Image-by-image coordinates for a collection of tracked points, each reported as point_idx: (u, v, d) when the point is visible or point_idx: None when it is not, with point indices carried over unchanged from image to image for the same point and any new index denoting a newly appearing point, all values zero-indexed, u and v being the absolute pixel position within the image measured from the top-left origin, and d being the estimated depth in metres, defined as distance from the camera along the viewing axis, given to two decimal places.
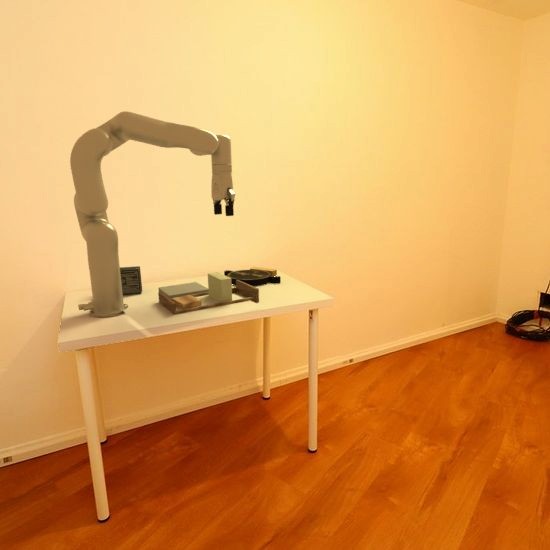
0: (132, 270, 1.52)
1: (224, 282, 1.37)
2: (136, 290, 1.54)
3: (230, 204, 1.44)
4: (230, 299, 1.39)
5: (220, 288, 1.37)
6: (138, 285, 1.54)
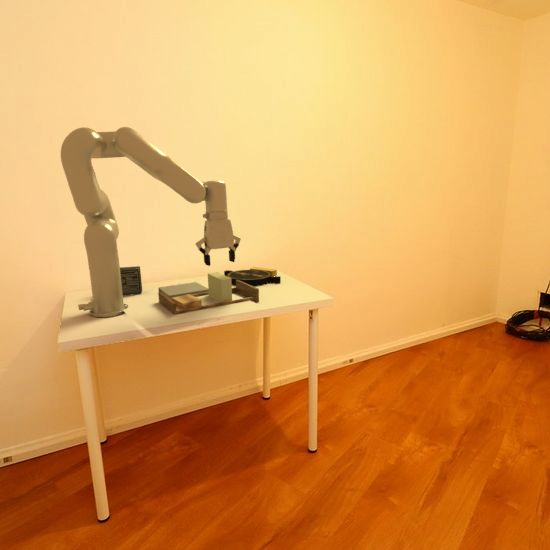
0: (132, 270, 1.52)
1: (224, 282, 1.37)
2: (136, 290, 1.54)
3: None
4: (230, 299, 1.39)
5: (220, 288, 1.37)
6: (138, 285, 1.54)
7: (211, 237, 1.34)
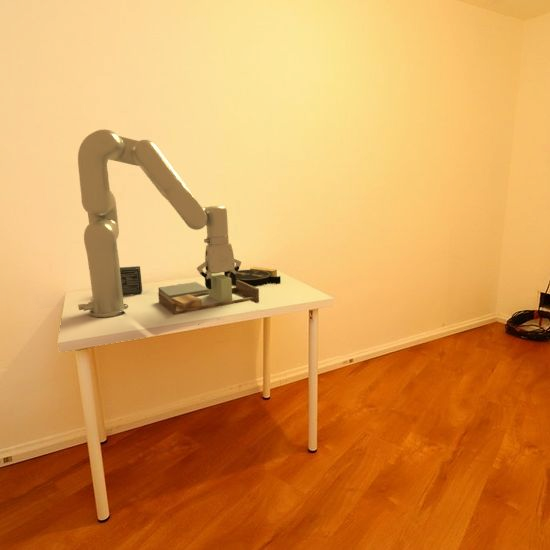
0: (132, 270, 1.52)
1: (224, 282, 1.37)
2: (136, 290, 1.54)
3: None
4: (230, 299, 1.39)
5: (220, 288, 1.37)
6: (138, 285, 1.54)
7: (212, 262, 1.36)
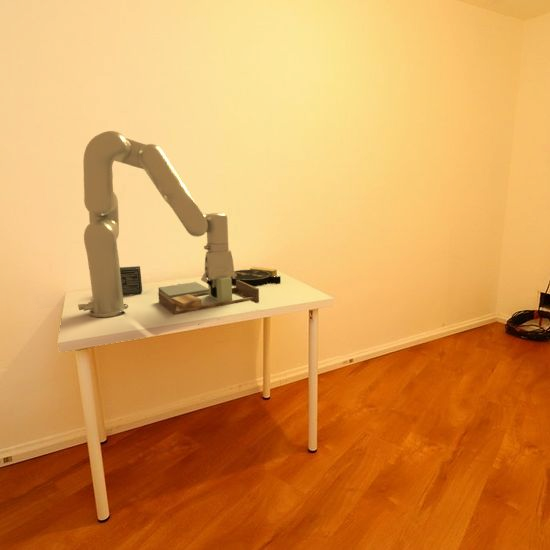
0: (132, 270, 1.52)
1: (224, 282, 1.36)
2: (136, 290, 1.54)
3: None
4: (230, 299, 1.39)
5: (220, 288, 1.37)
6: (138, 285, 1.54)
7: (212, 268, 1.37)
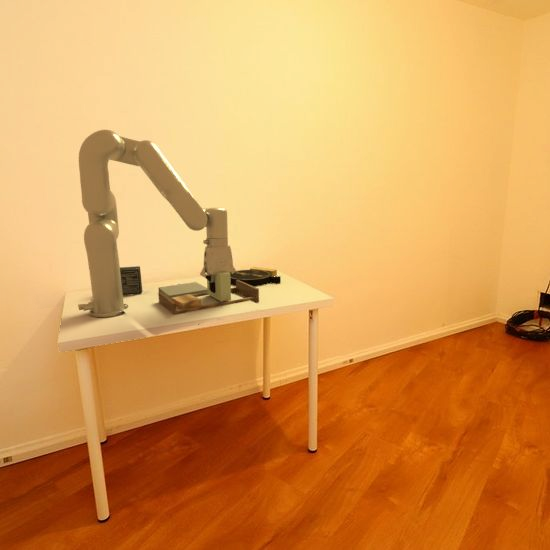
0: (132, 270, 1.52)
1: (223, 277, 1.36)
2: (136, 290, 1.54)
3: None
4: (229, 294, 1.39)
5: (219, 283, 1.37)
6: (138, 285, 1.54)
7: (211, 263, 1.36)
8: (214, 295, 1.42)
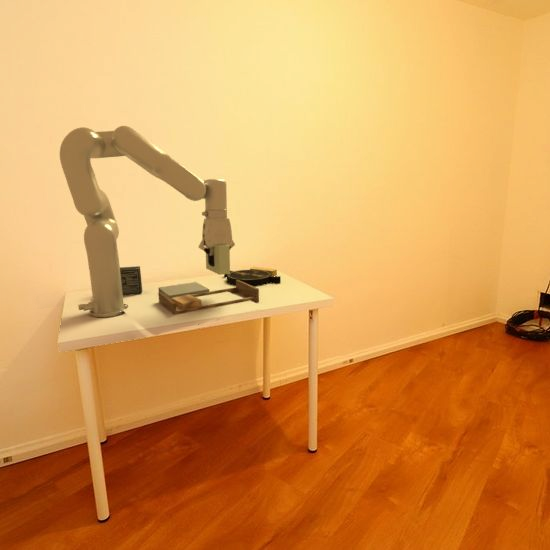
0: (132, 270, 1.52)
1: (222, 250, 1.34)
2: (136, 290, 1.54)
3: None
4: (228, 267, 1.36)
5: (218, 255, 1.34)
6: (138, 285, 1.54)
7: (209, 235, 1.34)
8: (213, 269, 1.39)
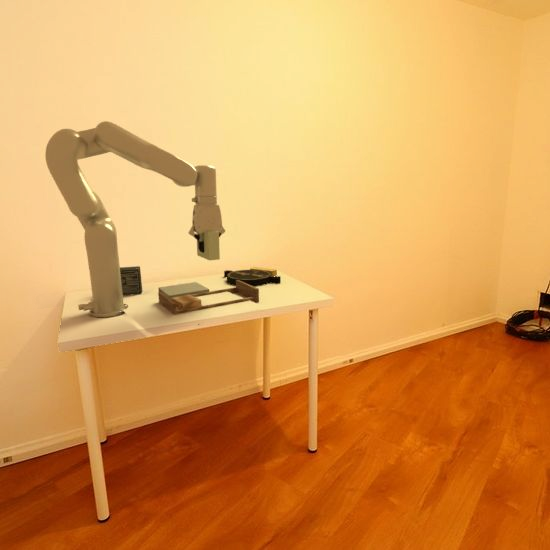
0: (132, 270, 1.52)
1: (211, 235, 1.35)
2: (136, 290, 1.54)
3: None
4: (217, 253, 1.37)
5: (207, 241, 1.36)
6: (138, 285, 1.54)
7: (199, 221, 1.35)
8: (203, 255, 1.41)
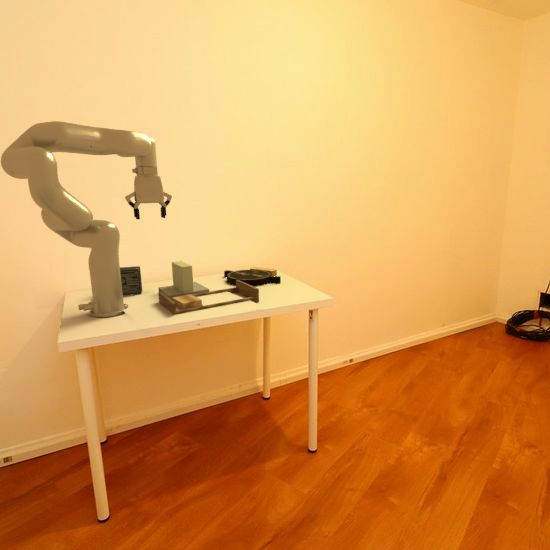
0: (132, 270, 1.52)
1: (185, 270, 1.46)
2: (136, 290, 1.54)
3: None
4: (191, 285, 1.48)
5: (181, 275, 1.46)
6: (138, 285, 1.54)
7: (139, 191, 1.40)
8: (178, 287, 1.51)
